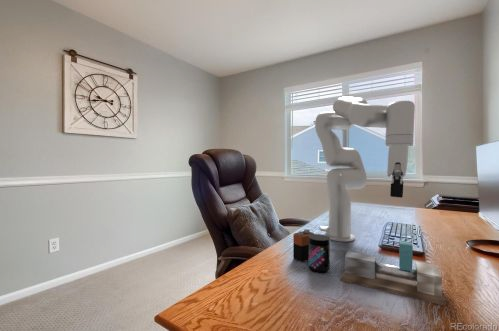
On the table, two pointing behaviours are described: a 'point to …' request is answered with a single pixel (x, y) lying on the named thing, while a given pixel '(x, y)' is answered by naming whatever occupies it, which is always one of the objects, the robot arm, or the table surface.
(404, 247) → the l-shaped stand
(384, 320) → the table surface
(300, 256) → the battery
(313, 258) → the supplement container
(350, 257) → the tube rig
